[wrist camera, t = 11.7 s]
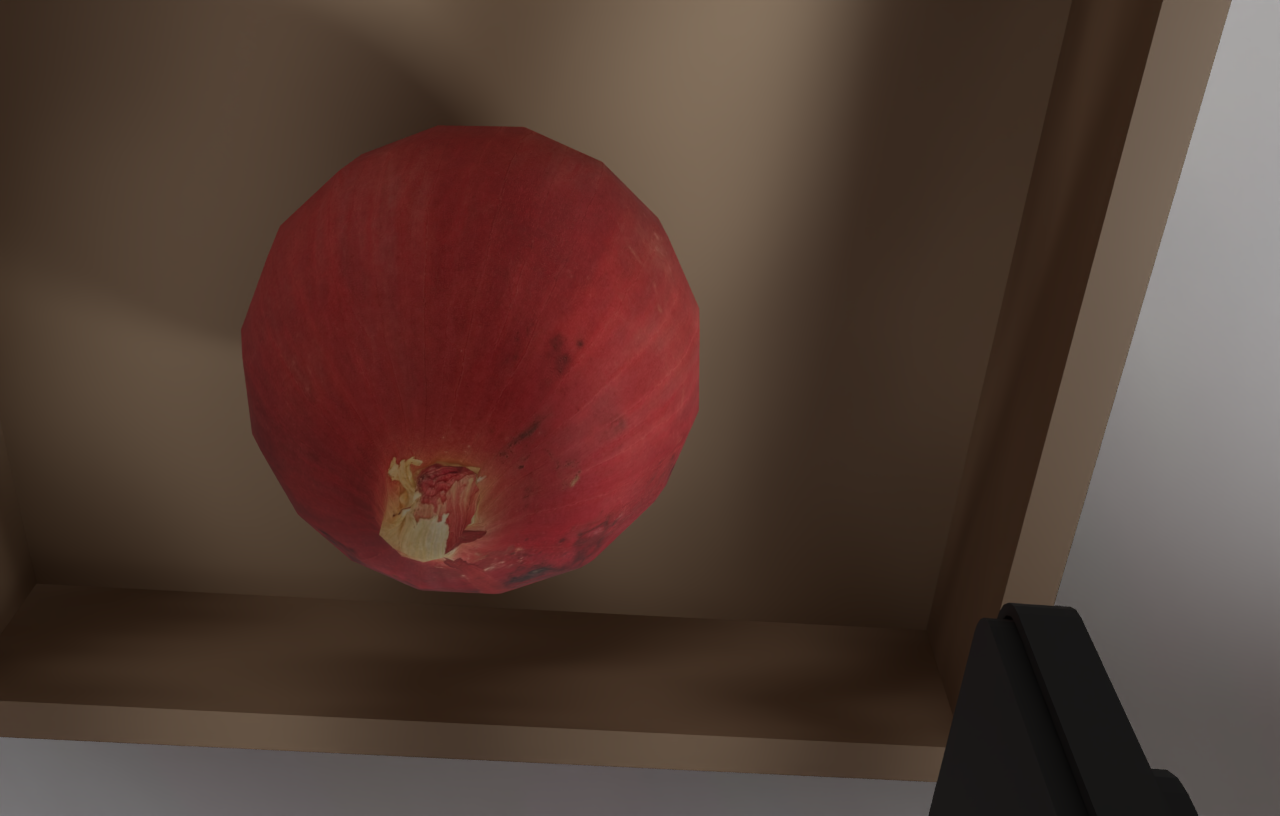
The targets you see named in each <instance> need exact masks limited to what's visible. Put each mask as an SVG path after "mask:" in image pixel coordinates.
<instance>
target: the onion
mask: <svg viewBox="0 0 1280 816" xmlns="http://www.w3.org/2000/svg"><path fill="white" fill-rule="evenodd" d="M241 341H242V359H243V367H244V375H245V383H246V390H247V398H248V406H249V414H250V422H251V429H252V435H253V437H254V439H255V440H256V442H257V444H258V446H259V448H260V450H261V452H262V454H263V455H264V457H265V459H266V461H267V462H268V464H269V466H270V468H271V469H272V471H273V473H274V474H275V476H276V478H277V480H278V481H279V483H280V485H281V486H282V488H283V490H284V492H285V493H286V495H287V497H288V498H289V500H290V502H291V504H292V505H293V507H294V509H295V511H296V512H297V514H298V515H299V516H300V517H301V518H302V519H304V520H305V521H306V522H307V523H308V524H309V525H311V526H312V527H313V528H314V529H315V530H316V531H318V532H319V533H320V534H321V535H322V536H323V537H325V538H326V539H327V540H328V541H329V542H330V543H332V544H333V545H334V546H335V547H336V548H337V549H339V550H340V551H341V552H342V553H343V554H344V555H346V556H347V557H348V558H349V559H350V560H351V561H354V562H356V563H358V564H360V565H363V566H365V567H367V568H370V569H372V570H374V571H377V572H379V573H381V574H383V575H386V576H388V577H390V578H393V579H395V580H397V581H400V582H402V583H404V584H406V585H409V586H411V587H413V588H416V589H418V590H423V591H444V592H464V593H484V594H501V593H504V592H507V591H510V590H514V589H517V588H520V587H523V586H526V585H529V584H532V583H535V582H538V581H541V580H544V579H547V578H551V577H554V576H557V575H560V574H563V573H566V572H569V571H572V570H575V569H578V568H581V567H583V566H584V565H586V564H588V563H589V562H591V561H593V560H594V559H595V558H596V557H597V556H598V555H599V554H600V553H601V552H602V551H603V550H604V549H605V548H606V547H607V546H608V545H610V544H611V543H612V542H613V541H614V540H615V539H616V538H617V537H618V536H619V535H620V534H621V533H622V532H623V531H624V530H625V529H626V528H627V527H628V526H630V525H631V524H632V523H633V522H634V521H635V520H636V519H637V518H638V517H639V516H640V515H641V514H642V513H643V512H644V511H645V510H646V509H647V508H648V507H650V506H651V505H652V504H653V503H654V502H655V500H656V499H657V497H658V496H659V494H660V493H661V492H662V490H663V489H664V487H665V486H666V484H667V482H668V480H669V477H670V475H671V473H672V470H673V468H674V466H675V464H676V461H677V459H678V457H679V455H680V452H681V450H682V448H683V445H684V443H685V441H686V439H687V436H688V434H689V432H690V430H691V427H692V425H693V423H694V421H695V418H696V416H697V414H698V411H699V348H700V322H699V307H698V304H697V302H696V300H695V297H694V295H693V293H692V290H691V288H690V286H689V284H688V281H687V279H686V277H685V274H684V272H683V270H682V267H681V265H680V263H679V261H678V258H677V256H676V254H675V251H674V249H673V247H672V244H671V242H670V240H669V238H668V236H667V234H666V232H665V230H664V228H663V226H662V224H661V222H660V220H659V219H658V217H657V216H656V215H655V214H654V213H653V212H652V211H651V210H650V209H649V208H648V207H647V206H646V205H645V204H644V203H643V202H642V201H641V200H640V199H639V198H638V197H637V196H636V195H635V194H634V193H633V192H632V191H631V190H630V189H629V188H628V187H627V186H626V185H625V184H624V183H623V182H622V181H621V180H620V179H619V178H618V177H617V176H616V175H615V174H614V173H613V172H612V171H611V170H610V169H609V168H608V167H607V166H606V165H605V164H604V163H603V162H602V161H599V160H597V159H595V158H593V157H590V156H588V155H586V154H584V153H581V152H579V151H577V150H575V149H573V148H570V147H568V146H566V145H564V144H561V143H559V142H557V141H555V140H553V139H550V138H548V137H546V136H544V135H541V134H539V133H537V132H535V131H532V130H530V129H528V128H526V127H506V126H446V125H437V126H435V127H432V128H429V129H427V130H424V131H422V132H419V133H416V134H414V135H411V136H408V137H406V138H403V139H400V140H398V141H395V142H393V143H390V144H387V145H385V146H382V147H379V148H377V149H374V150H372V151H369V152H366V153H364V154H361V155H360V156H358V157H357V158H356V159H354V160H353V161H352V162H350V163H349V164H347V165H346V166H345V167H343V168H342V169H340V170H339V171H338V172H337V173H336V174H335V175H334V176H333V177H332V178H330V179H329V180H328V181H327V182H326V183H325V184H324V185H323V186H322V187H321V188H320V189H319V190H318V191H317V192H316V193H314V194H313V195H312V196H311V197H310V198H309V199H308V200H307V201H306V202H305V203H304V204H303V205H302V206H301V207H300V208H298V209H297V210H296V211H295V212H294V213H293V214H292V215H291V216H290V217H289V218H288V219H287V220H286V221H285V222H284V223H283V224H281V225H280V227H279V229H278V232H277V234H276V237H275V239H274V242H273V244H272V247H271V249H270V251H269V254H268V256H267V259H266V262H265V265H264V267H263V270H262V273H261V276H260V279H259V281H258V284H257V287H256V290H255V292H254V295H253V298H252V301H251V303H250V306H249V309H248V312H247V314H246V317H245V320H244V323H243V325H242V328H241Z"/></svg>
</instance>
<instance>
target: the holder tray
mask: <svg viewBox="0 0 1280 816" xmlns="http://www.w3.org/2000/svg"><path fill="white" fill-rule="evenodd" d="M1231 1H1232V0H0V737H13V738H34V739H54V740H75V741H96V742H116V743H137V744H158V745H179V746H199V747H220V748H241V749H261V750H282V751H303V752H324V753H344V754H365V755H386V756H406V757H427V758H448V759H468V760H489V761H510V762H531V763H551V764H572V765H593V766H613V767H634V768H655V769H675V770H696V771H717V772H738V773H758V774H779V775H800V776H820V777H841V778H862V779H883V780H903V781H924V782H937V780H938V776H939V772H940V768H941V764H942V760H943V756H944V752H945V748H946V744H947V740H948V736H949V732H950V728H951V724H952V720H953V716H954V712H955V708H956V704H957V700H958V696H959V692H960V688H961V684H962V680H963V676H964V672H965V668H966V664H967V660H968V656H969V652H970V648H971V644H972V640H973V636H974V632H975V629H976V626H977V623H978V622H979V620H980V619H982V618H994V619H997V617H998V614H999V611H1000V610H1001V608H1002V607H1003V605H1004V604H1006V603H1022V604H1036V605H1050V606H1054V603H1055V599H1056V596H1057V592H1058V589H1059V586H1060V582H1061V579H1062V575H1063V572H1064V569H1065V565H1066V562H1067V558H1068V555H1069V552H1070V548H1071V545H1072V541H1073V538H1074V535H1075V531H1076V528H1077V524H1078V521H1079V518H1080V514H1081V511H1082V507H1083V504H1084V501H1085V497H1086V494H1087V490H1088V487H1089V484H1090V480H1091V477H1092V473H1093V470H1094V467H1095V463H1096V460H1097V456H1098V453H1099V450H1100V446H1101V443H1102V439H1103V436H1104V433H1105V429H1106V426H1107V422H1108V419H1109V416H1110V412H1111V409H1112V405H1113V402H1114V399H1115V395H1116V392H1117V388H1118V385H1119V382H1120V378H1121V375H1122V371H1123V368H1124V365H1125V361H1126V358H1127V354H1128V351H1129V348H1130V344H1131V341H1132V337H1133V334H1134V331H1135V327H1136V324H1137V320H1138V317H1139V314H1140V310H1141V307H1142V303H1143V300H1144V297H1145V293H1146V290H1147V286H1148V283H1149V280H1150V276H1151V273H1152V269H1153V266H1154V263H1155V259H1156V256H1157V252H1158V249H1159V246H1160V242H1161V239H1162V235H1163V232H1164V229H1165V225H1166V222H1167V218H1168V215H1169V212H1170V208H1171V205H1172V201H1173V198H1174V195H1175V191H1176V188H1177V184H1178V181H1179V178H1180V174H1181V171H1182V167H1183V164H1184V161H1185V157H1186V154H1187V150H1188V147H1189V144H1190V140H1191V137H1192V133H1193V130H1194V127H1195V123H1196V120H1197V116H1198V113H1199V110H1200V106H1201V103H1202V99H1203V96H1204V93H1205V89H1206V86H1207V82H1208V79H1209V76H1210V72H1211V69H1212V65H1213V62H1214V59H1215V55H1216V52H1217V48H1218V45H1219V42H1220V38H1221V35H1222V31H1223V28H1224V25H1225V21H1226V18H1227V14H1228V11H1229V8H1230V4H1231ZM437 125H446V126H506V127H526V128H528V129H530V130H532V131H535V132H537V133H539V134H541V135H544V136H546V137H548V138H550V139H553V140H555V141H557V142H559V143H561V144H564V145H566V146H568V147H570V148H573V149H575V150H577V151H579V152H581V153H584V154H586V155H588V156H590V157H593V158H595V159H597V160H599V161H602V162H603V163H604V164H605V165H606V166H607V167H608V168H609V169H610V170H611V171H612V172H613V173H614V174H615V175H616V176H617V177H618V178H619V179H620V180H621V181H622V182H623V183H624V184H625V185H626V186H627V187H628V188H629V189H630V190H631V191H632V192H633V193H634V194H635V195H636V196H637V197H638V198H639V199H640V200H641V201H642V202H643V203H644V204H645V205H646V206H647V207H648V208H649V209H650V210H651V211H652V212H653V213H654V214H655V215H656V216H657V217H658V219H659V220H660V222H661V224H662V226H663V228H664V230H665V232H666V234H667V236H668V238H669V240H670V242H671V244H672V247H673V249H674V251H675V254H676V256H677V258H678V261H679V263H680V265H681V267H682V270H683V272H684V274H685V277H686V279H687V281H688V284H689V286H690V288H691V290H692V293H693V295H694V297H695V300H696V302H697V304H698V307H699V322H700V348H699V411H698V414H697V416H696V418H695V421H694V423H693V425H692V427H691V430H690V432H689V434H688V436H687V439H686V441H685V443H684V445H683V448H682V450H681V452H680V455H679V457H678V459H677V461H676V464H675V466H674V468H673V470H672V473H671V475H670V477H669V480H668V482H667V484H666V486H665V487H664V489H663V490H662V492H661V493H660V494H659V496H658V497H657V499H656V500H655V502H654V503H653V504H652V505H651V506H650V507H648V508H647V509H646V510H645V511H644V512H643V513H642V514H641V515H640V516H639V517H638V518H637V519H636V520H635V521H634V522H633V523H632V524H631V525H630V526H628V527H627V528H626V529H625V530H624V531H623V532H622V533H621V534H620V535H619V536H618V537H617V538H616V539H615V540H614V541H613V542H612V543H611V544H610V545H608V546H607V547H606V548H605V549H604V550H603V551H602V552H601V553H600V554H599V555H598V556H597V557H596V558H595V559H594V560H593V561H591V562H589V563H588V564H586V565H584V566H583V567H581V568H578V569H575V570H572V571H569V572H566V573H563V574H560V575H557V576H554V577H551V578H547V579H544V580H541V581H538V582H535V583H532V584H529V585H526V586H523V587H520V588H517V589H514V590H510V591H507V592H504V593H501V594H484V593H464V592H444V591H423V590H418V589H416V588H413V587H411V586H409V585H406V584H404V583H402V582H400V581H397V580H395V579H393V578H390V577H388V576H386V575H383V574H381V573H379V572H377V571H374V570H372V569H370V568H367V567H365V566H363V565H360V564H358V563H356V562H354V561H351V560H350V559H349V558H348V557H347V556H346V555H344V554H343V553H342V552H341V551H340V550H339V549H337V548H336V547H335V546H334V545H333V544H332V543H330V542H329V541H328V540H327V539H326V538H325V537H323V536H322V535H321V534H320V533H319V532H318V531H316V530H315V529H314V528H313V527H312V526H311V525H309V524H308V523H307V522H306V521H305V520H304V519H302V518H301V517H300V516H299V515H298V514H297V512H296V511H295V509H294V507H293V505H292V504H291V502H290V500H289V498H288V497H287V495H286V493H285V492H284V490H283V488H282V486H281V485H280V483H279V481H278V480H277V478H276V476H275V474H274V473H273V471H272V469H271V468H270V466H269V464H268V462H267V461H266V459H265V457H264V455H263V454H262V452H261V450H260V448H259V446H258V444H257V442H256V440H255V439H254V437H253V435H252V429H251V422H250V414H249V406H248V398H247V390H246V383H245V375H244V367H243V359H242V341H241V328H242V325H243V323H244V320H245V317H246V314H247V312H248V309H249V306H250V303H251V301H252V298H253V295H254V292H255V290H256V287H257V284H258V281H259V279H260V276H261V273H262V270H263V267H264V265H265V262H266V259H267V256H268V254H269V251H270V249H271V247H272V244H273V242H274V239H275V237H276V234H277V232H278V229H279V227H280V225H281V224H283V223H284V222H285V221H286V220H287V219H288V218H289V217H290V216H291V215H292V214H293V213H294V212H295V211H296V210H297V209H298V208H300V207H301V206H302V205H303V204H304V203H305V202H306V201H307V200H308V199H309V198H310V197H311V196H312V195H313V194H314V193H316V192H317V191H318V190H319V189H320V188H321V187H322V186H323V185H324V184H325V183H326V182H327V181H328V180H329V179H330V178H332V177H333V176H334V175H335V174H336V173H337V172H338V171H339V170H340V169H342V168H343V167H345V166H346V165H347V164H349V163H350V162H352V161H353V160H354V159H356V158H357V157H358V156H360V155H361V154H364V153H366V152H369V151H372V150H374V149H377V148H379V147H382V146H385V145H387V144H390V143H393V142H395V141H398V140H400V139H403V138H406V137H408V136H411V135H414V134H416V133H419V132H422V131H424V130H427V129H429V128H432V127H435V126H437Z"/></svg>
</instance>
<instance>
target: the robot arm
mask: <svg viewBox="0 0 1280 816" xmlns="http://www.w3.org/2000/svg"><path fill="white" fill-rule="evenodd" d="M929 816H1198V814H1197V812H1196V810H1195V807H1194V805H1193V803H1192V801H1191V799H1190V797H1189V795H1188V793H1187V792H1186V790H1185V789H1184V787H1183V785H1182V784H1181V782H1180V781H1179V779H1178V778H1177V777H1176V776H1174V775H1173V774H1172V773H1170V772H1169V771H1168V770H1160V769H1151V768H1150V766H1149V764H1148V761H1147V759H1146V757H1145V755H1144V753H1143V751H1142V748H1141V746H1140V744H1139V742H1138V740H1137V738H1136V735H1135V733H1134V731H1133V729H1132V727H1131V725H1130V722H1129V720H1128V718H1127V716H1126V714H1125V712H1124V709H1123V707H1122V705H1121V703H1120V701H1119V699H1118V696H1117V694H1116V692H1115V690H1114V688H1113V686H1112V683H1111V681H1110V679H1109V677H1108V675H1107V673H1106V670H1105V668H1104V666H1103V664H1102V662H1101V660H1100V657H1099V655H1098V653H1097V651H1096V649H1095V647H1094V644H1093V642H1092V640H1091V638H1090V636H1089V634H1088V631H1087V629H1086V627H1085V625H1084V623H1083V621H1082V619H1081V617H1080V615H1079V614H1078V612H1077V611H1076V610H1075V609H1073V608H1071V607H1064V606H1050V605H1036V604H1022V603H1006V604H1004V605H1003V607H1002V608H1001V610H1000V611H999V614H998V617H997V619H994V618H982V619H980V620H979V622H978V623H977V626H976V629H975V632H974V636H973V640H972V644H971V648H970V652H969V656H968V660H967V664H966V668H965V672H964V676H963V680H962V684H961V688H960V692H959V696H958V700H957V704H956V708H955V712H954V716H953V720H952V724H951V728H950V732H949V736H948V740H947V744H946V748H945V752H944V756H943V760H942V764H941V768H940V772H939V776H938V780H937V784H936V788H935V792H934V796H933V800H932V804H931V808H930V812H929Z"/></svg>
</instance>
